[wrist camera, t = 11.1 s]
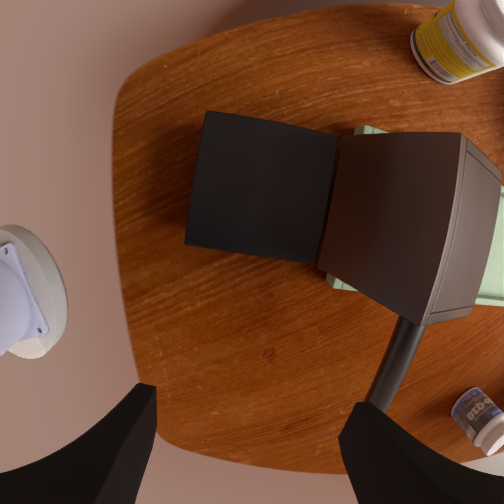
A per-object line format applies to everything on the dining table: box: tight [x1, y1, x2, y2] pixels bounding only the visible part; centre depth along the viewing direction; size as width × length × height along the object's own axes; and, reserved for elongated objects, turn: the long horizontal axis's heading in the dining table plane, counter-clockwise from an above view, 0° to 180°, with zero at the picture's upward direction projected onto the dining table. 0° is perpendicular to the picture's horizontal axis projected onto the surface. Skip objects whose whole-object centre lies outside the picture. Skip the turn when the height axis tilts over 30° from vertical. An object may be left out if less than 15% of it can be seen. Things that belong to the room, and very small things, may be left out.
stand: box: [184, 111, 339, 264], centre depth 16 cm, size 7×7×4 cm
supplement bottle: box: [410, 0, 504, 84], centre depth 11 cm, size 5×5×10 cm
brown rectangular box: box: [317, 132, 503, 414], centre depth 13 cm, size 7×14×5 cm
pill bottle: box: [451, 387, 504, 456], centre depth 20 cm, size 5×5×8 cm
